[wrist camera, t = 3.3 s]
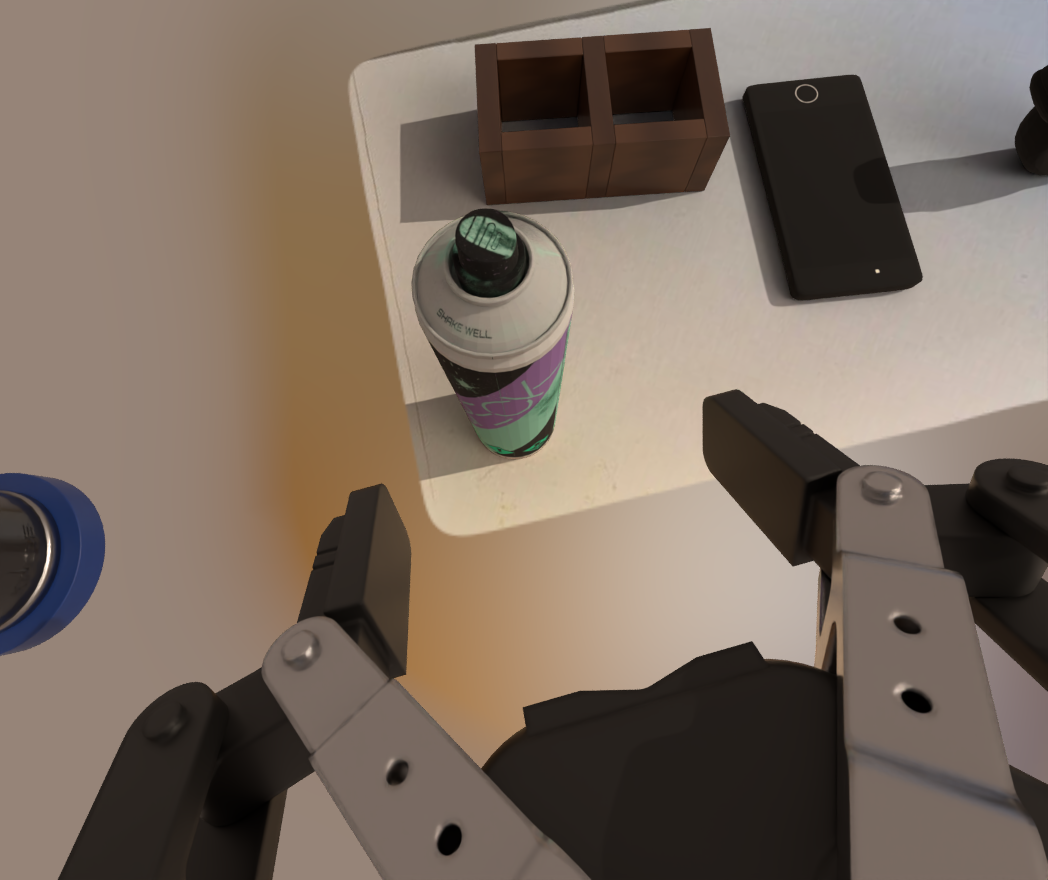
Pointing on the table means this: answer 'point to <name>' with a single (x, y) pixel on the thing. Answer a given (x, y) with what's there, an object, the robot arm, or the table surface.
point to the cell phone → (830, 189)
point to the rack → (599, 116)
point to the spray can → (498, 323)
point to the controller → (1035, 127)
